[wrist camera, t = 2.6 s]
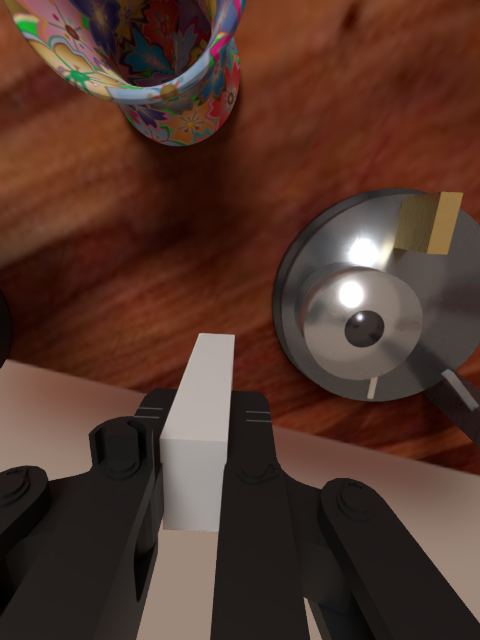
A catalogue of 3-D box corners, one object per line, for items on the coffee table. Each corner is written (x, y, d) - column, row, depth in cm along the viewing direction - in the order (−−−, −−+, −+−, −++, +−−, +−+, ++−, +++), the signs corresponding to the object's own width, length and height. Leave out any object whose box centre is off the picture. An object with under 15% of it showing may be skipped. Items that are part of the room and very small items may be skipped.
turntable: (271, 387, 27) (279, 429, 21) (290, 189, 22) (306, 180, 16) (452, 395, 27) (503, 438, 22) (512, 201, 22) (598, 196, 17)
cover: (289, 349, 24) (300, 378, 19) (299, 258, 22) (314, 268, 17) (377, 353, 24) (408, 382, 20) (396, 263, 22) (436, 274, 17)
